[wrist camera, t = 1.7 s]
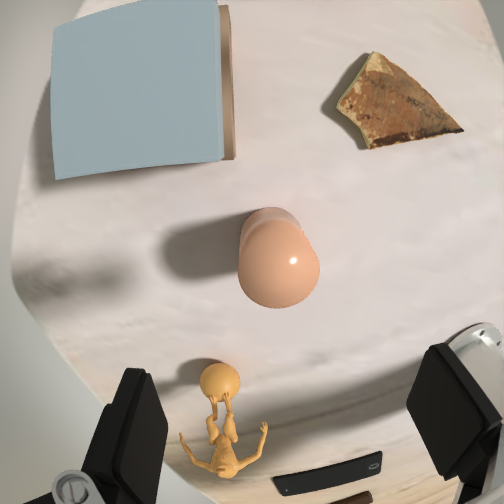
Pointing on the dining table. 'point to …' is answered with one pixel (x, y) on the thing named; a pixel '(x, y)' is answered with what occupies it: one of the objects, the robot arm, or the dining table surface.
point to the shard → (392, 106)
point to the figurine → (219, 390)
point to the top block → (137, 88)
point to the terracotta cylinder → (276, 259)
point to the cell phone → (329, 475)
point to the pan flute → (357, 499)
